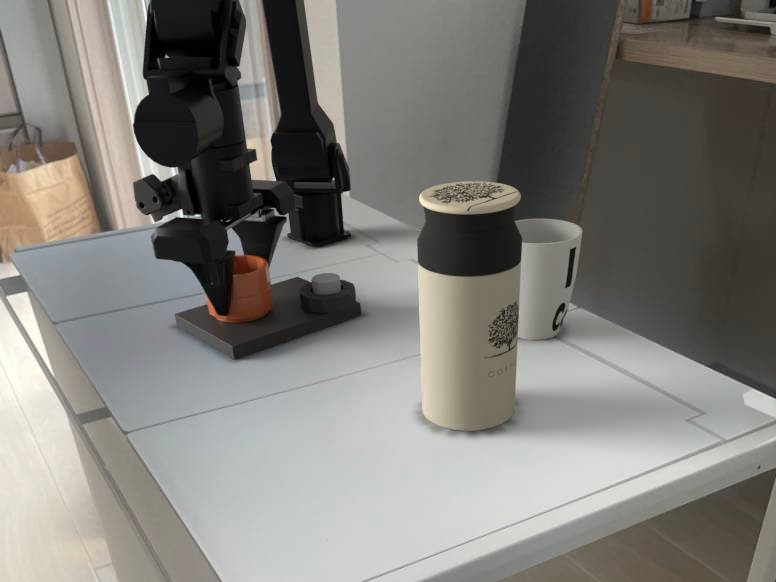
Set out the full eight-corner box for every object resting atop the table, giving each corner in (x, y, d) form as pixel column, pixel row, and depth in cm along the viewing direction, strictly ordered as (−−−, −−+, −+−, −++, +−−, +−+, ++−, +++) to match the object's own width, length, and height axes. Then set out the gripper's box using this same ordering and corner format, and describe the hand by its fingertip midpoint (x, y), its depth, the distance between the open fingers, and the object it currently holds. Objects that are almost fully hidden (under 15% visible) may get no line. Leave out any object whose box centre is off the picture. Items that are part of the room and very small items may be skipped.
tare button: (330, 284, 91) (328, 270, 91) (346, 291, 90) (345, 277, 89) (307, 292, 90) (306, 277, 89) (324, 299, 88) (322, 284, 87)
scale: (302, 287, 99) (299, 261, 97) (367, 315, 91) (365, 288, 89) (176, 326, 91) (171, 299, 89) (236, 361, 83) (231, 332, 81)
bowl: (251, 295, 93) (245, 250, 90) (286, 311, 89) (280, 264, 86) (197, 312, 90) (188, 265, 87) (230, 329, 86) (222, 281, 83)
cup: (572, 348, 82) (581, 244, 76) (489, 344, 84) (492, 242, 78) (575, 316, 88) (583, 219, 82) (498, 313, 90) (501, 217, 84)
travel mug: (403, 408, 73) (394, 193, 63) (474, 382, 77) (476, 174, 66) (461, 444, 68) (461, 215, 57) (533, 414, 72) (546, 193, 61)
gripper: (193, 120, 89) (218, 267, 98) (83, 161, 75) (125, 328, 84) (288, 123, 85) (304, 274, 95) (192, 166, 71) (222, 339, 81)
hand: (241, 301), depth 89 cm, fingers open, 7 cm apart
